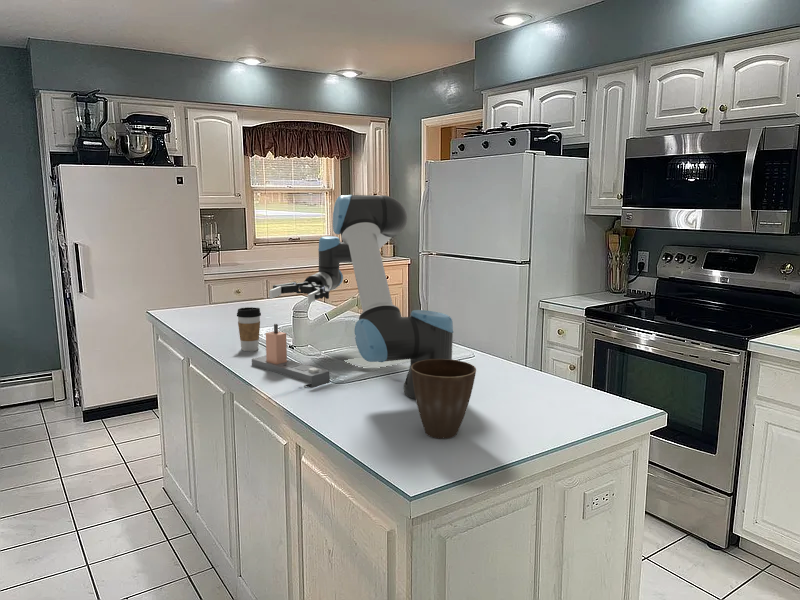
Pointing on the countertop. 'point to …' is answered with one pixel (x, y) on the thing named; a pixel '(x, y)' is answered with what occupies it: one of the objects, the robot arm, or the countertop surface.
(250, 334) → the coffee cup
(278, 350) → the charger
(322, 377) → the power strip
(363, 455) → the countertop surface
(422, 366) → the plant pot
